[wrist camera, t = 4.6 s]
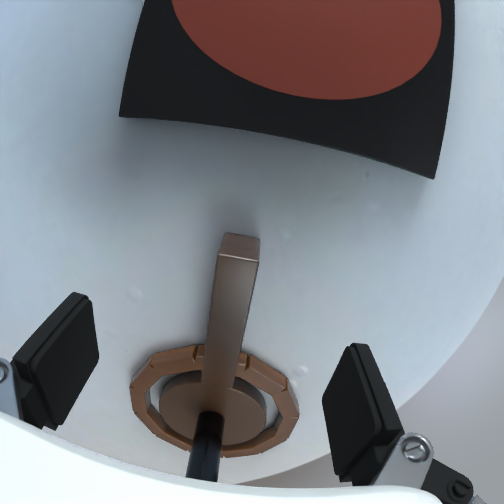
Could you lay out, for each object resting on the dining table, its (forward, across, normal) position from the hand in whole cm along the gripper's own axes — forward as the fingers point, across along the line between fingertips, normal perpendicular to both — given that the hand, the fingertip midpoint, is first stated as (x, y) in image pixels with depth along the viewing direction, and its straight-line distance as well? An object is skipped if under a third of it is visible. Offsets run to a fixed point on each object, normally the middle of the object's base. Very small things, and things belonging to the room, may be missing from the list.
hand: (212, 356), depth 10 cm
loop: (+7, 0, +8) cm, 10 cm away
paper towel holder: (+7, 0, +12) cm, 13 cm away
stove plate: (+7, -1, -18) cm, 20 cm away
